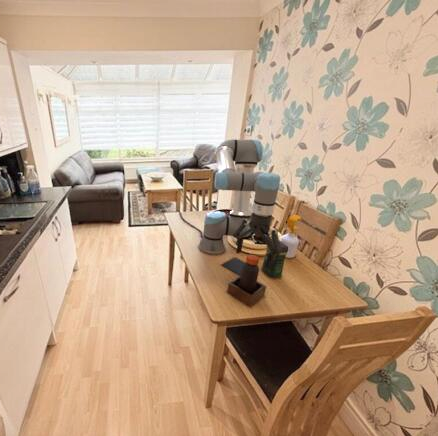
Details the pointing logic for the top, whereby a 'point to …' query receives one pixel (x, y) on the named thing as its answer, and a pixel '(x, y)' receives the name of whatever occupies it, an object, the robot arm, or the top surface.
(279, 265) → the coffee jar
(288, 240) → the soap bottle
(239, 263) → the mat
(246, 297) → the box
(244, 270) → the vinegar
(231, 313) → the top surface
